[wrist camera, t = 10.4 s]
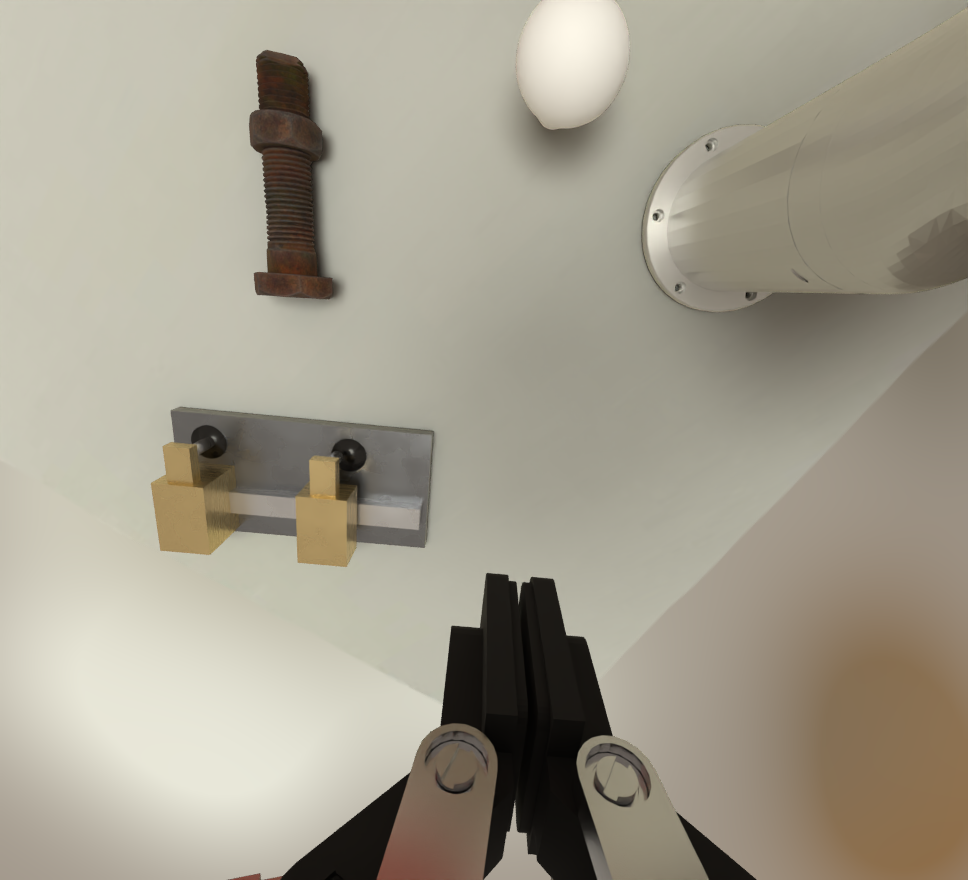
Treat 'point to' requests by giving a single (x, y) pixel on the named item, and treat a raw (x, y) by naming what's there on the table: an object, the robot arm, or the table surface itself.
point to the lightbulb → (572, 60)
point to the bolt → (287, 177)
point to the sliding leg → (326, 515)
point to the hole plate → (285, 477)
